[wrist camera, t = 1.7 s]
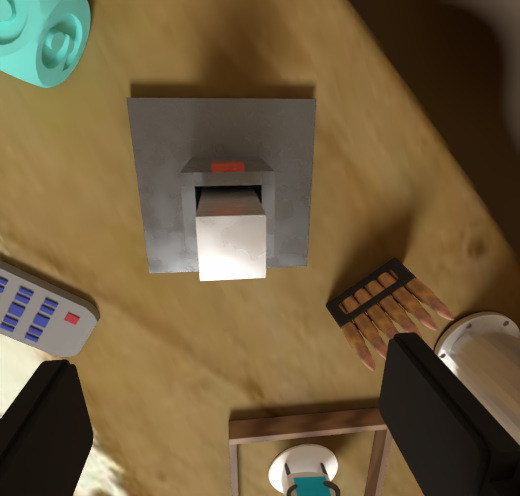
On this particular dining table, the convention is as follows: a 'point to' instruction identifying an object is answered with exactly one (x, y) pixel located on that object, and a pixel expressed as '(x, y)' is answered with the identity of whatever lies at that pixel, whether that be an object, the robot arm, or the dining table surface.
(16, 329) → the remote control
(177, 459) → the dining table surface
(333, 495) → the panda figurine
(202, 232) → the column
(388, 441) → the frame
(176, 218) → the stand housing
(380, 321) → the ammunition clip
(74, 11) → the decorative dice
